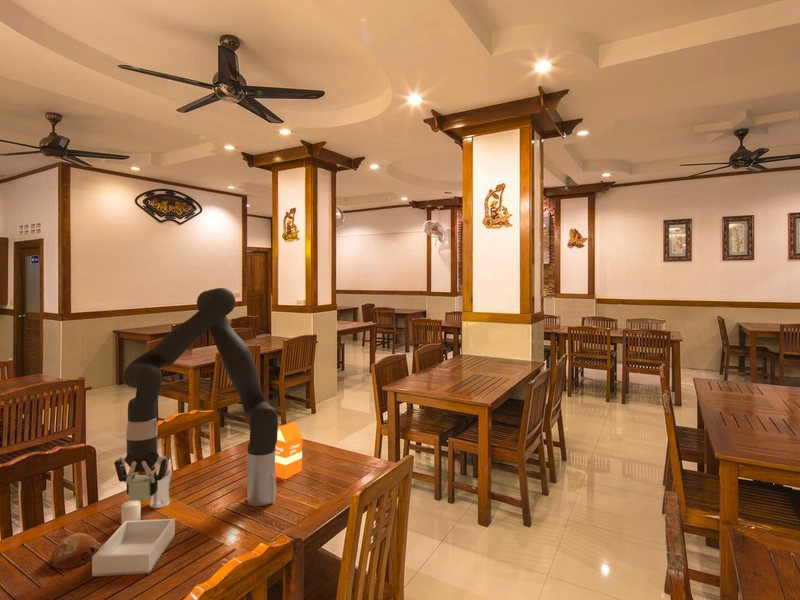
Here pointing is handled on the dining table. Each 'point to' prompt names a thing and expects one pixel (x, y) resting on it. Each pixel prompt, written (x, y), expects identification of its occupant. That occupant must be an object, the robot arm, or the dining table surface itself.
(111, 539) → the grey tote
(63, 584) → the dining table surface
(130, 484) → the sage block
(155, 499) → the beer glass
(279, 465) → the orange juice
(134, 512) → the white pillar candle
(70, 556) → the bread roll
